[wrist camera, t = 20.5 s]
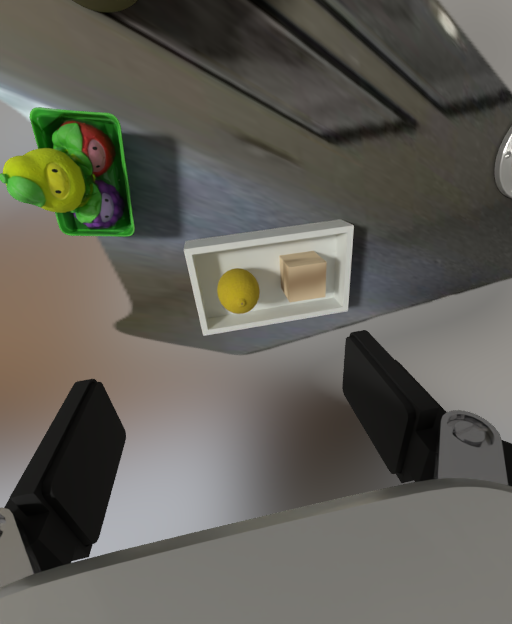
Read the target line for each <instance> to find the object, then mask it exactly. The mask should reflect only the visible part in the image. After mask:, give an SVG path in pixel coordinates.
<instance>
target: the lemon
mask: <svg viewBox="0 0 512 624" xmlns="http://www.w3.org/2000/svg"><path fill="white" fill-rule="evenodd" d="M217 294H218V298H219V300H220V302H221V304H222V305H223V306H224V308H225V309H227V310H228V311H230V312H232V313H236V314H243V313H247V312H249V311H250V310H252V309H253V308H254V307H255V305H256V304H257V302H258V299H259V294H260V289H259V284H258V282H257V280H256V278H255V277H254V276H253V275H252V274H251V273H250V272H249V271H247V270H244V269H240V268H236V269H231V270H229V271H227V272H226V273H224V274H223V275H222V277H221V278H220V280H219V282H218V286H217Z"/></svg>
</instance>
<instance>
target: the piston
mask: <svg viewBox="0 0 512 624" xmlns="http://www.w3.org/2000/svg"><path fill="white" fill-rule="evenodd" d="M72 1H74V2H76V3H77V4H79V5H81V6H83V7H85V8H88V9H91V10H94V11H98V12H117V11H121V10H124V9H126V8H128V7H130V6H132V5H133V4H134V3H136V2H137V1H138V0H72Z"/></svg>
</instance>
